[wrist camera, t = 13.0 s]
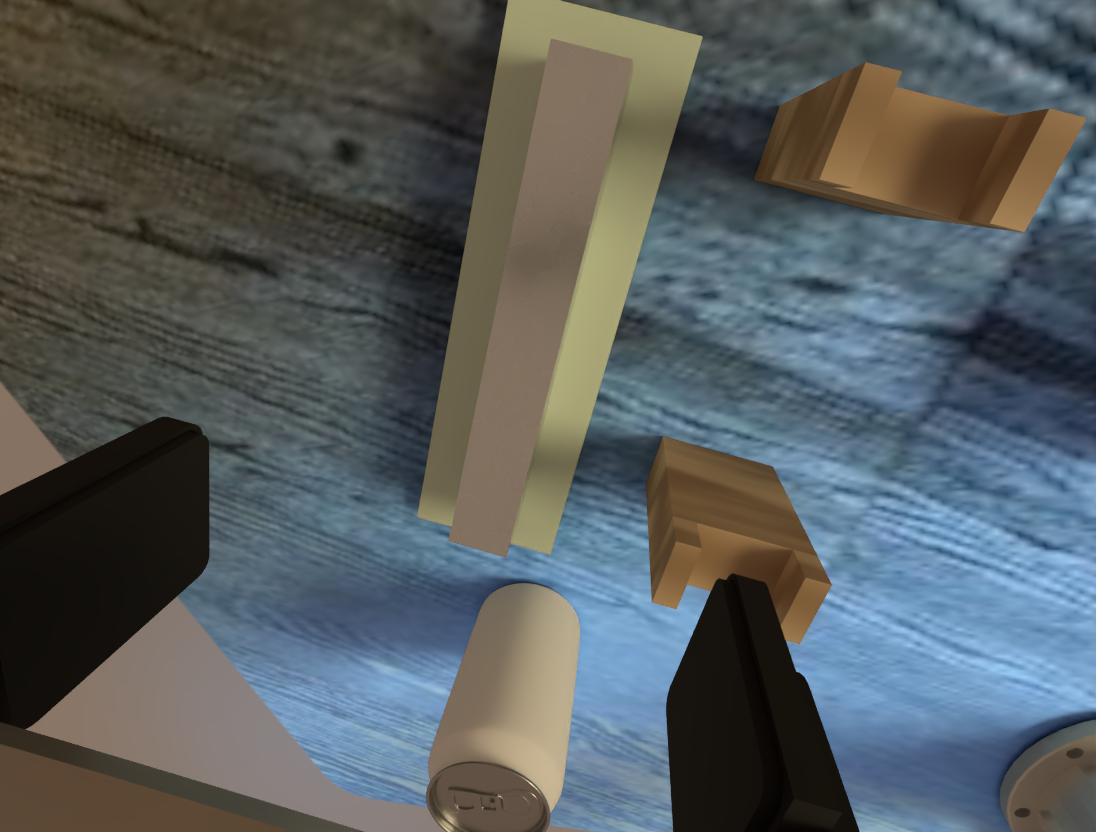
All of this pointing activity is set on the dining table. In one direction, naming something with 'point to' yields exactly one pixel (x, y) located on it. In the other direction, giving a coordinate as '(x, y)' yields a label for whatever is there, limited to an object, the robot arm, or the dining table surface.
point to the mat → (609, 260)
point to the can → (507, 716)
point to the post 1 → (729, 532)
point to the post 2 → (915, 152)
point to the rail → (539, 284)
